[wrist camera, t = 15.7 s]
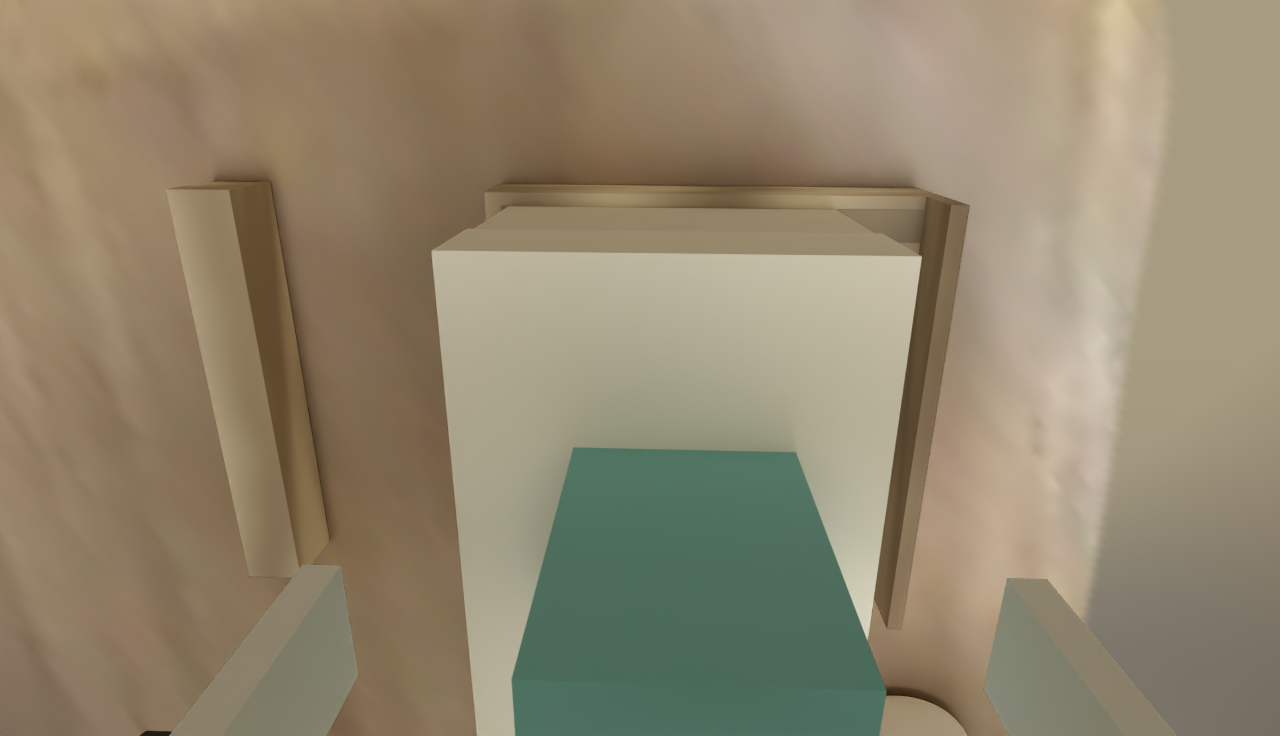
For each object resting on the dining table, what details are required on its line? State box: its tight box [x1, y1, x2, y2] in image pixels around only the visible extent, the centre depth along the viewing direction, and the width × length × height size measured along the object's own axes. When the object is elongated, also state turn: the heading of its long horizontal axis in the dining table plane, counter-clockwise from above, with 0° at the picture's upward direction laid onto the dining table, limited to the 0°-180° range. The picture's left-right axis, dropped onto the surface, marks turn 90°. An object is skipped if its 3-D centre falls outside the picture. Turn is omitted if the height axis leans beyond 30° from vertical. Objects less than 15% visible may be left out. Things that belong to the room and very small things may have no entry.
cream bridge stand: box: [432, 206, 922, 736], centre depth 21 cm, size 10×14×8 cm
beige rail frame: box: [166, 181, 970, 629], centre depth 25 cm, size 24×14×4 cm, turn 90°
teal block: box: [511, 447, 887, 736], centre depth 14 cm, size 5×5×7 cm
